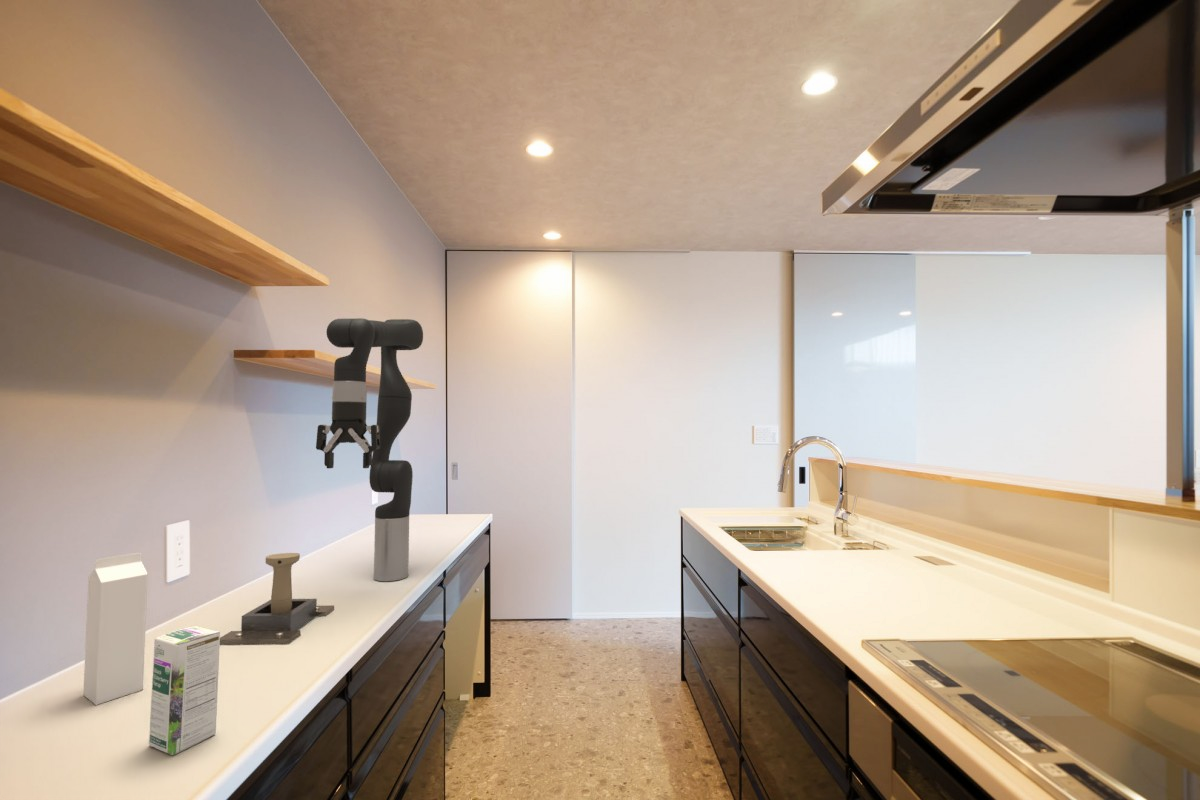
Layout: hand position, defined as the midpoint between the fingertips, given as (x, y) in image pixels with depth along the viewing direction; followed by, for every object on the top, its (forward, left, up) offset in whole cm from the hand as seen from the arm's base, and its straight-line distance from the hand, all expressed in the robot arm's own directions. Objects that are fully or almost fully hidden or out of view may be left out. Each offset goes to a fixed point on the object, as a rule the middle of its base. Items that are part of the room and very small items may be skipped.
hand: (347, 468), depth 131 cm
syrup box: (+54, +1, -33) cm, 63 cm away
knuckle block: (+11, -9, -33) cm, 36 cm away
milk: (+40, -20, -33) cm, 56 cm away
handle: (+11, -9, -33) cm, 36 cm away
